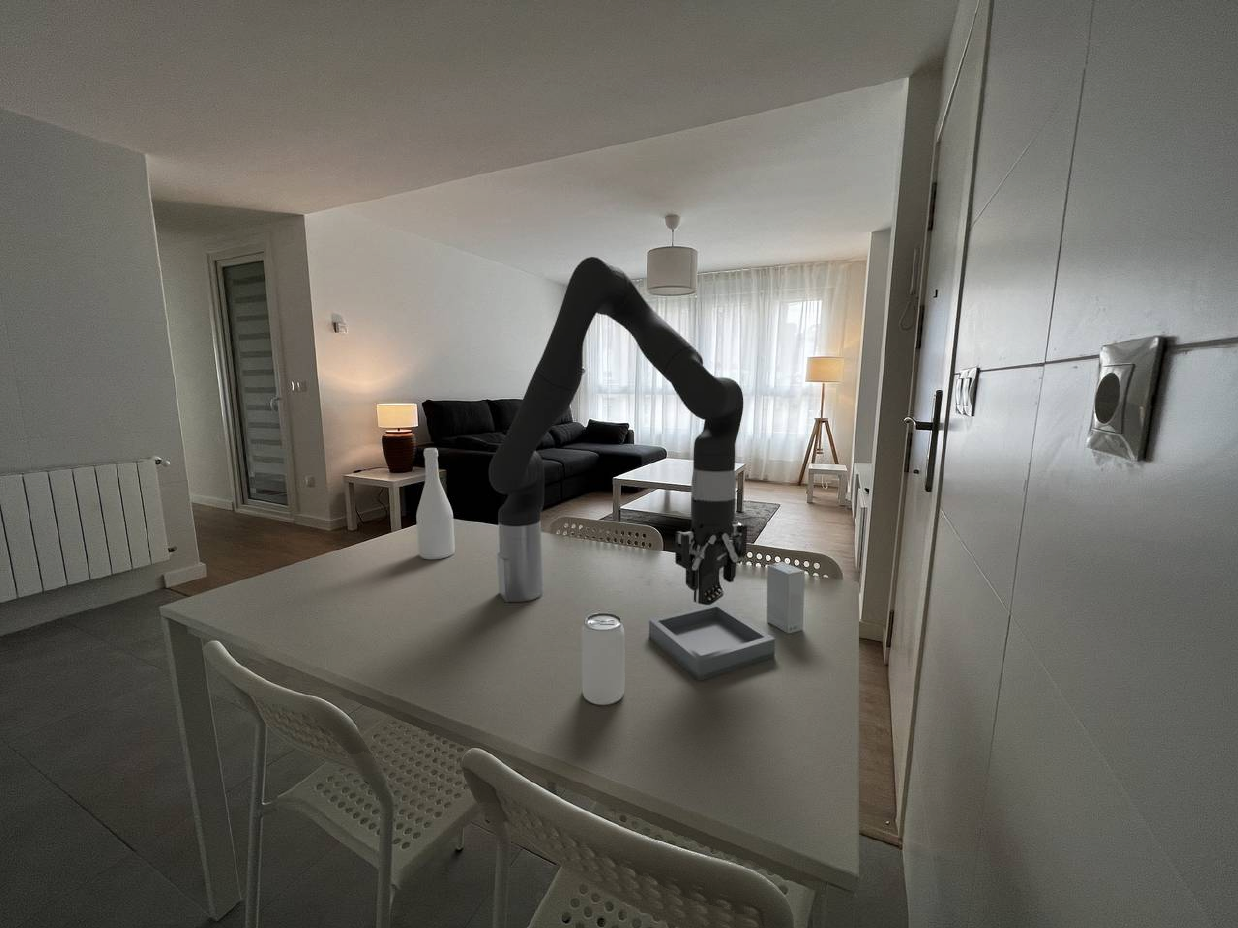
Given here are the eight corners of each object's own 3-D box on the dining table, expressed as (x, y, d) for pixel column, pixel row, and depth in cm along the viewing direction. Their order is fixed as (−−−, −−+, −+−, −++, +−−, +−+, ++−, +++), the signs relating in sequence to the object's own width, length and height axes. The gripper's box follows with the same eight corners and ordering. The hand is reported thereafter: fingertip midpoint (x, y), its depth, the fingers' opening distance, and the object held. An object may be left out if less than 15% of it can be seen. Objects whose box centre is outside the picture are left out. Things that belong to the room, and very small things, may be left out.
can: (582, 682, 80) (581, 611, 78) (622, 680, 81) (622, 610, 79) (582, 708, 74) (581, 632, 72) (626, 705, 74) (626, 630, 72)
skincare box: (803, 630, 97) (807, 570, 95) (786, 635, 95) (789, 574, 93) (780, 616, 102) (783, 560, 100) (764, 621, 100) (766, 563, 99)
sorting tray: (698, 681, 80) (699, 661, 80) (648, 636, 94) (649, 619, 94) (774, 657, 87) (775, 638, 87) (717, 619, 101) (717, 603, 101)
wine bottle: (421, 550, 144) (414, 447, 139) (456, 547, 146) (450, 446, 141) (416, 561, 135) (409, 451, 130) (453, 558, 137) (447, 450, 132)
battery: (711, 609, 86) (713, 545, 84) (692, 603, 88) (693, 541, 86) (729, 595, 91) (731, 535, 89) (710, 590, 93) (712, 531, 92)
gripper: (732, 486, 93) (729, 570, 95) (666, 494, 87) (665, 584, 89) (760, 494, 86) (756, 584, 89) (691, 503, 80) (689, 600, 82)
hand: (710, 584), depth 89 cm, fingers closed on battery, 7 cm apart
